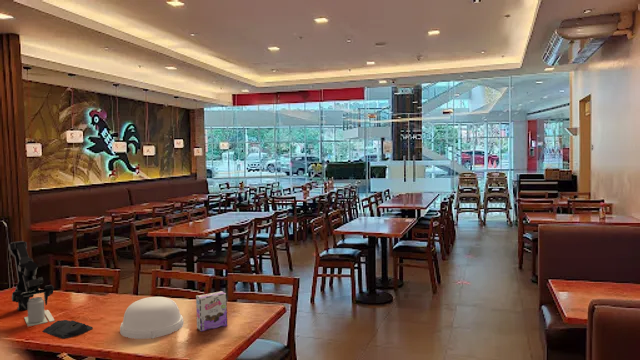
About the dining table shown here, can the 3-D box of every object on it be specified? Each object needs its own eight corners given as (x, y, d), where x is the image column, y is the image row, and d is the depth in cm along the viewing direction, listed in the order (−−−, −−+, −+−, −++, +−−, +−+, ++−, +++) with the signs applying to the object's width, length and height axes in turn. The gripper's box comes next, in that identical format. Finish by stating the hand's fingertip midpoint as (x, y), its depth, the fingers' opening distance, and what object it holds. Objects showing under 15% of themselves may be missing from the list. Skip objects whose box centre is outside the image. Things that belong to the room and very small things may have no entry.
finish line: (43, 311, 269) (43, 310, 269) (48, 310, 271) (48, 309, 271) (49, 322, 252) (49, 321, 252) (54, 320, 253) (54, 320, 253)
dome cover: (121, 321, 251) (120, 294, 250) (181, 313, 261) (180, 287, 260) (118, 344, 221) (117, 313, 220) (186, 334, 231) (185, 305, 230)
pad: (24, 318, 259) (24, 317, 259) (43, 314, 264) (43, 313, 264) (27, 326, 246) (27, 325, 246) (47, 322, 251) (47, 321, 251)
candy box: (200, 331, 233) (199, 298, 232) (196, 328, 238) (195, 295, 237) (227, 325, 240) (226, 293, 239) (223, 322, 245) (222, 290, 244)
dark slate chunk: (69, 322, 251) (69, 313, 251) (95, 330, 240) (95, 320, 240) (39, 332, 238) (39, 323, 238) (65, 340, 227) (65, 331, 227)
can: (32, 324, 247) (30, 301, 246) (25, 322, 251) (24, 299, 250) (47, 320, 253) (46, 297, 252) (41, 317, 257) (39, 295, 256)
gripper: (11, 276, 247) (17, 302, 239) (52, 269, 259) (58, 294, 252) (9, 288, 253) (14, 314, 246) (49, 281, 266) (55, 305, 258)
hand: (36, 306), depth 250 cm, fingers open, 9 cm apart
